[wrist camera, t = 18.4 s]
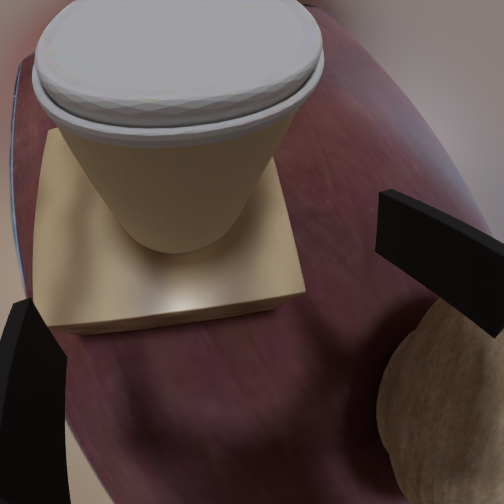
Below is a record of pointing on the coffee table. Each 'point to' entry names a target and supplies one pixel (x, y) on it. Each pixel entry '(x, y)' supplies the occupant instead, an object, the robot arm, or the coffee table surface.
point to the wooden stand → (151, 259)
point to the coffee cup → (176, 104)
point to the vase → (445, 411)
